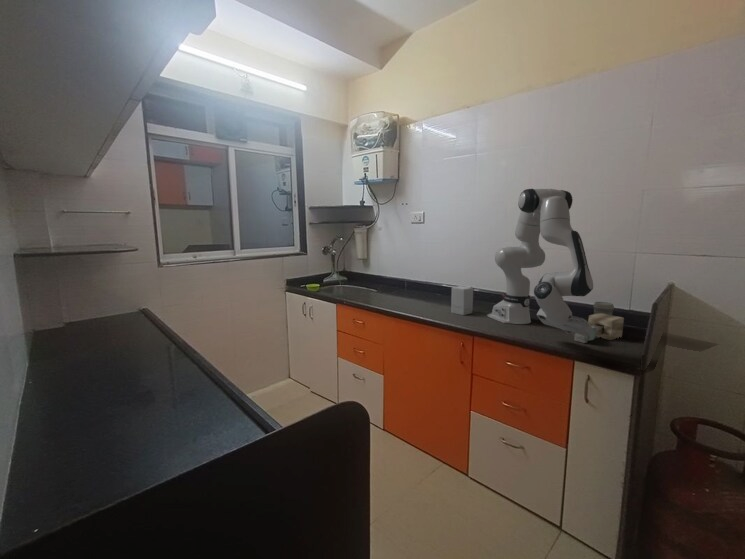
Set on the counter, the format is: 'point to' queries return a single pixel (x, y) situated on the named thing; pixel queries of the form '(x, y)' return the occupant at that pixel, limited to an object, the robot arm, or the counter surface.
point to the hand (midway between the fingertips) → (571, 333)
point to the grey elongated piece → (584, 339)
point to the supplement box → (462, 300)
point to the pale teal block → (592, 334)
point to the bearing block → (608, 325)
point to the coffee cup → (603, 308)
